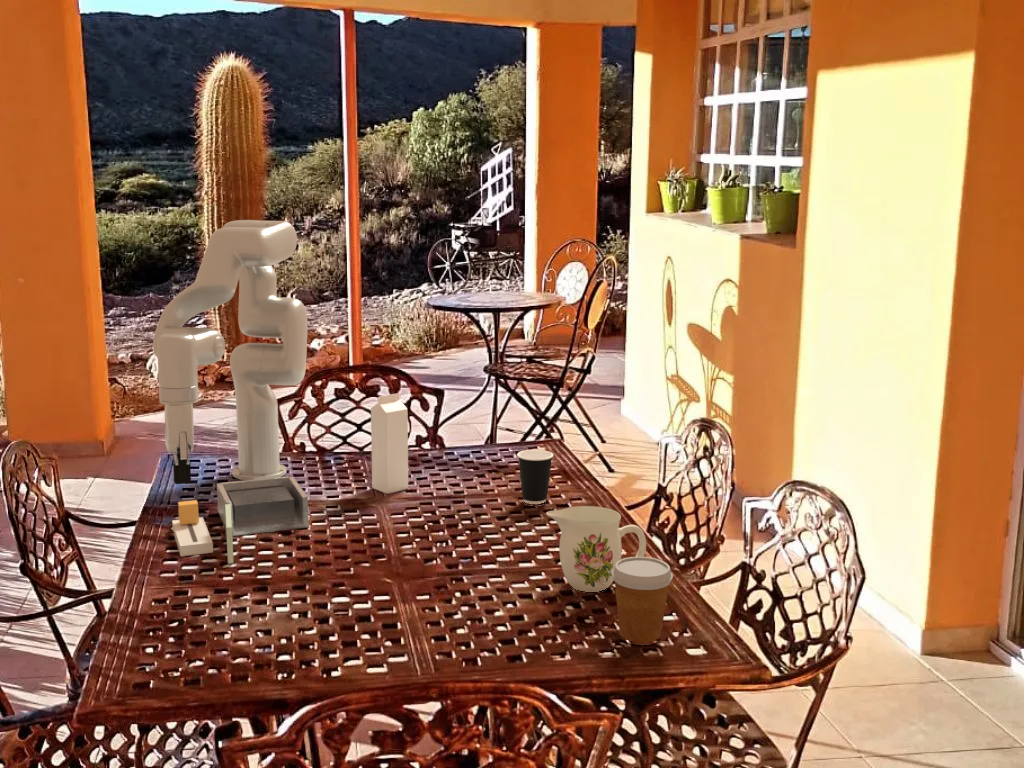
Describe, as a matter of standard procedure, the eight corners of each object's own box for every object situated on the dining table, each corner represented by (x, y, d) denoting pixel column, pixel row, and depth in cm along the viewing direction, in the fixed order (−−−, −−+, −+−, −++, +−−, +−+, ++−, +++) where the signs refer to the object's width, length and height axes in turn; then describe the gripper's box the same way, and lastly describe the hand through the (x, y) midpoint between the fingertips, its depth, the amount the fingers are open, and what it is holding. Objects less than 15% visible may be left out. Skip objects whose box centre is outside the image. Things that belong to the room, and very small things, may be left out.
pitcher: (652, 595, 189) (654, 520, 186) (549, 599, 187) (551, 523, 184) (637, 572, 199) (639, 500, 197) (540, 576, 197) (541, 503, 194)
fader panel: (172, 529, 220) (172, 520, 219) (203, 526, 222) (202, 516, 222) (180, 556, 205) (180, 545, 205) (213, 552, 208) (212, 541, 207)
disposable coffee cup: (597, 637, 172) (599, 565, 170) (635, 620, 179) (638, 551, 176) (644, 657, 165) (647, 582, 163) (682, 638, 172) (685, 566, 170)
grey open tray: (218, 512, 231) (216, 483, 229) (293, 504, 237) (292, 475, 235) (228, 536, 216) (227, 505, 215) (308, 527, 222) (307, 496, 221)
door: (232, 535, 216) (231, 500, 215) (234, 563, 201) (232, 526, 200) (225, 535, 216) (224, 501, 214) (226, 563, 201) (225, 526, 200)
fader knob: (179, 521, 218) (178, 502, 217) (197, 519, 219) (196, 500, 219) (180, 524, 216) (179, 505, 215) (198, 522, 217) (198, 503, 217)
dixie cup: (559, 503, 239) (560, 455, 237) (531, 510, 234) (531, 461, 232) (537, 494, 245) (538, 447, 243) (509, 500, 241) (509, 452, 238)
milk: (408, 489, 249) (408, 395, 244) (387, 494, 245) (386, 398, 240) (392, 483, 253) (392, 390, 249) (371, 488, 249) (370, 394, 245)
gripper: (156, 389, 224) (160, 475, 227) (162, 402, 210) (166, 494, 213) (194, 387, 226) (197, 472, 230) (202, 400, 213) (205, 490, 216)
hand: (182, 482), depth 221 cm, fingers closed
